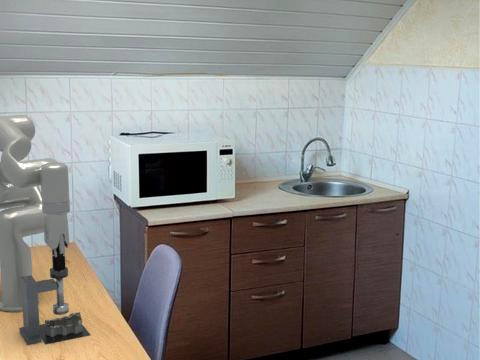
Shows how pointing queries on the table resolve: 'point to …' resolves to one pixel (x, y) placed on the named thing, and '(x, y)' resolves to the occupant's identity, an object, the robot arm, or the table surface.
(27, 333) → the press frame
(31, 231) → the robot arm
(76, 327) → the egg carton
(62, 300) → the disc
